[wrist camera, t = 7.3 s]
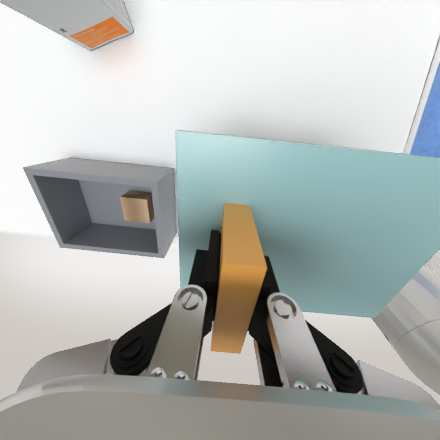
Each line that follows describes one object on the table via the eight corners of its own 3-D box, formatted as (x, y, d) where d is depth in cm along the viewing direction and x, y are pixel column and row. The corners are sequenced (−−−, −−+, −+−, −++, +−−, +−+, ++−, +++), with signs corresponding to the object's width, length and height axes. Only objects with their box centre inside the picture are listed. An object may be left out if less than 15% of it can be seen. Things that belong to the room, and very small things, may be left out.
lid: (479, 160, 10) (817, 211, 4) (363, 303, 16) (436, 398, 11) (181, 129, 9) (117, 139, 4) (184, 286, 16) (161, 375, 10)
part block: (154, 192, 28) (147, 199, 25) (157, 214, 30) (149, 223, 27) (130, 190, 28) (119, 196, 25) (134, 212, 30) (124, 220, 27)
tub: (173, 168, 26) (157, 181, 20) (176, 232, 32) (164, 258, 26) (70, 157, 26) (22, 167, 20) (92, 224, 32) (60, 247, 26)
